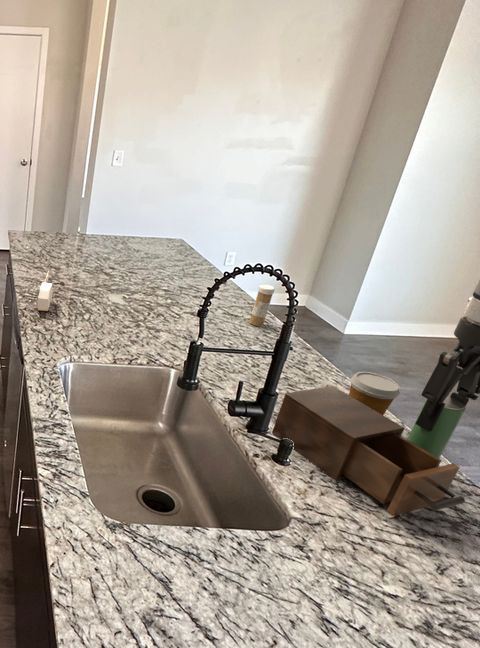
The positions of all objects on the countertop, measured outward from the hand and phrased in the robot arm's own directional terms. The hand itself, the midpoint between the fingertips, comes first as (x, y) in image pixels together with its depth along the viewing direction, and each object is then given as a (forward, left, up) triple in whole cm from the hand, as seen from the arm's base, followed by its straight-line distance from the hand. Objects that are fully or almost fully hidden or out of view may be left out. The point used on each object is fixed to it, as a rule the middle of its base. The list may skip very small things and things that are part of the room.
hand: (435, 424), depth 109 cm
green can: (0, 0, -8) cm, 8 cm away
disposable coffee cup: (+16, -4, -12) cm, 20 cm away
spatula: (+98, +40, -4) cm, 106 cm away
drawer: (-4, +13, -11) cm, 17 cm away
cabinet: (+10, +13, -12) cm, 20 cm away
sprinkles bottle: (+70, -24, -12) cm, 75 cm away
